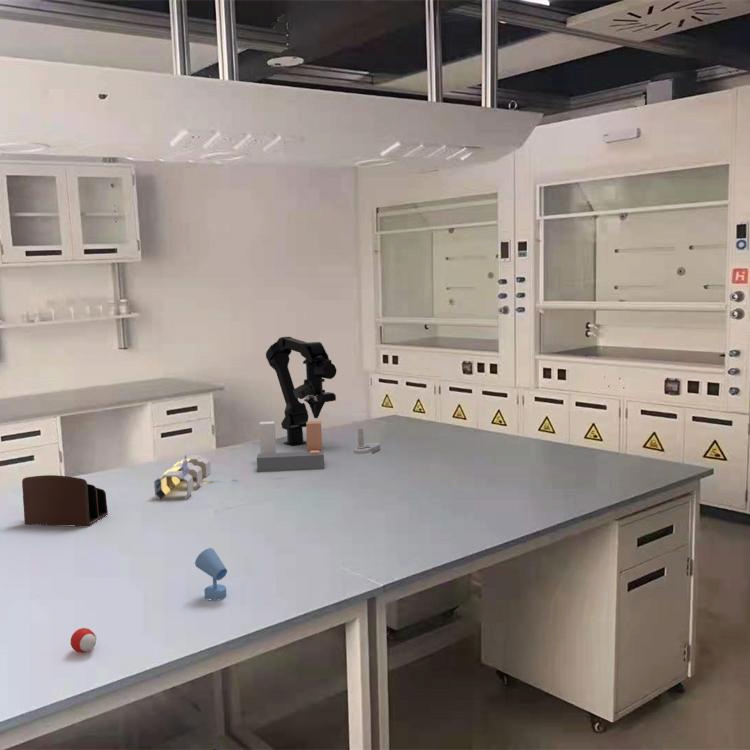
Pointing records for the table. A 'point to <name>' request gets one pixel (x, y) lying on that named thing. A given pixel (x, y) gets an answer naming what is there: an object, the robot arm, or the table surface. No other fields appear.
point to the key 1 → (267, 437)
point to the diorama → (183, 475)
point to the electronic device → (365, 445)
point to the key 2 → (314, 435)
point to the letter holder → (62, 501)
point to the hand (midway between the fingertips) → (316, 418)
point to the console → (290, 461)
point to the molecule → (83, 640)
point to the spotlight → (212, 573)
